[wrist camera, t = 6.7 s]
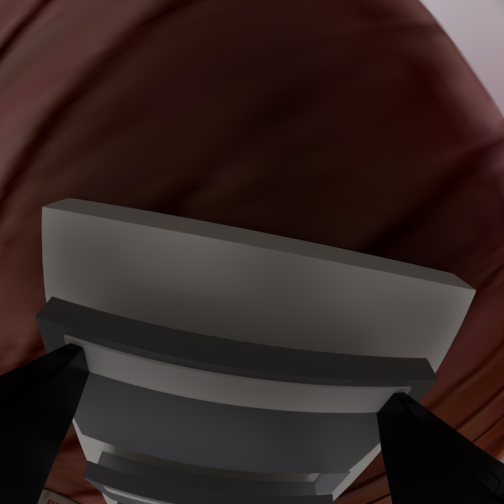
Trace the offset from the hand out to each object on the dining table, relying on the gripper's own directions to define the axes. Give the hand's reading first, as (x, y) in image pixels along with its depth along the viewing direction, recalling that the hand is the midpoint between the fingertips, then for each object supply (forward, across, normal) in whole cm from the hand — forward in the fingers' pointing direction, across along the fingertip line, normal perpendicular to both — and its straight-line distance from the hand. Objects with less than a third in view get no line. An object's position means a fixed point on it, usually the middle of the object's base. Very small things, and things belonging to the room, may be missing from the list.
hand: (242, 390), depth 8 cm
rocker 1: (+1, 0, +2) cm, 2 cm away
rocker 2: (+1, 0, +11) cm, 11 cm away
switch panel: (+5, 0, +11) cm, 12 cm away
